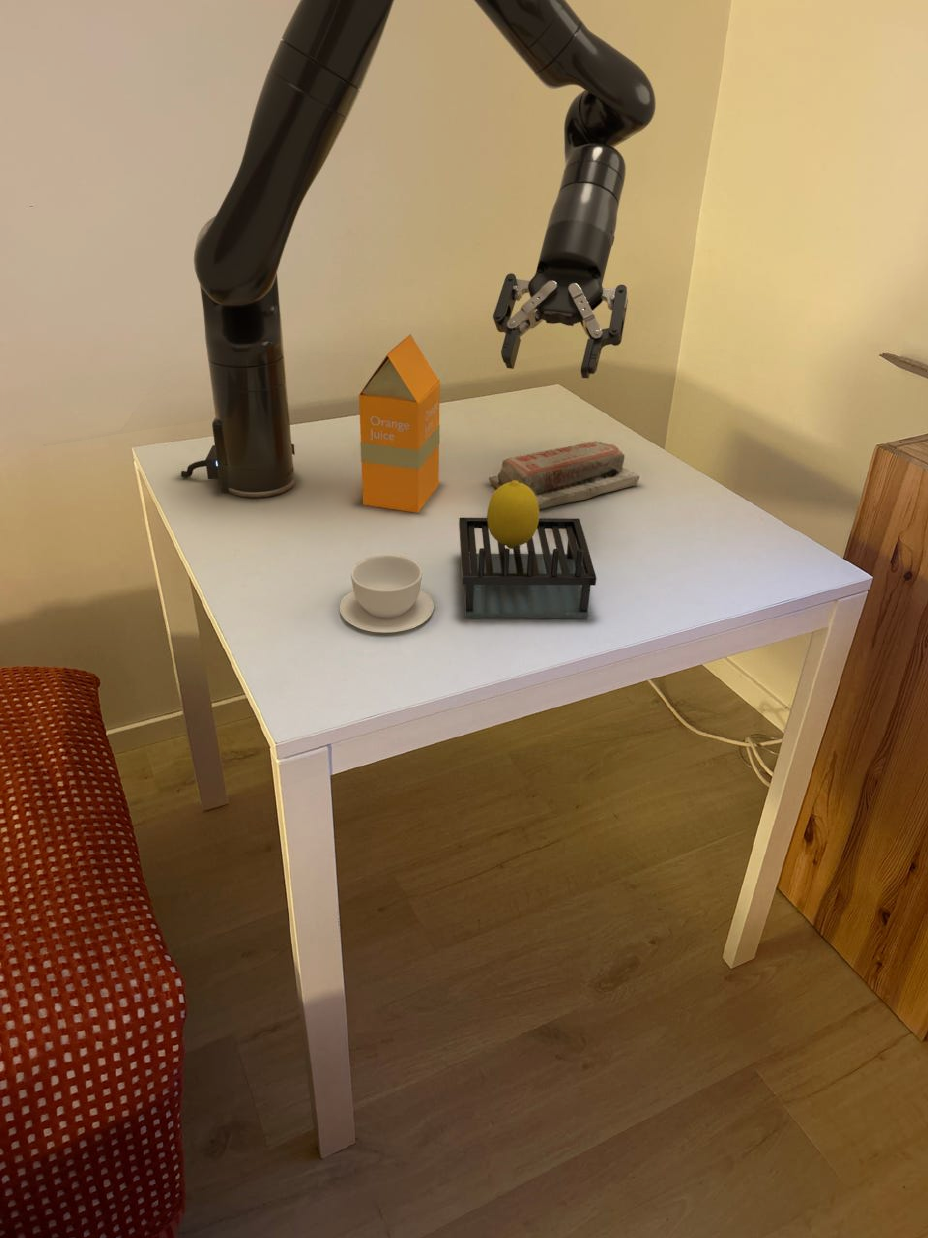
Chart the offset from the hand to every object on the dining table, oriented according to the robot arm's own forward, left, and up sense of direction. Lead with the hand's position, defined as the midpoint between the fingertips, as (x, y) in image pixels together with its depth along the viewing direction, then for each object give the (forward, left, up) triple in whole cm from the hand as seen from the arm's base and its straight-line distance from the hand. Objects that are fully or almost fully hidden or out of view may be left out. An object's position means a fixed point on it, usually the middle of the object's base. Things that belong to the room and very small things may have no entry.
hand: (546, 370), depth 101 cm
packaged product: (+5, +15, -21) cm, 27 cm away
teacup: (-17, -16, -21) cm, 32 cm away
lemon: (-4, -11, -16) cm, 20 cm away
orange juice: (-16, +12, -21) cm, 29 cm away
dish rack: (-2, -11, -21) cm, 24 cm away
